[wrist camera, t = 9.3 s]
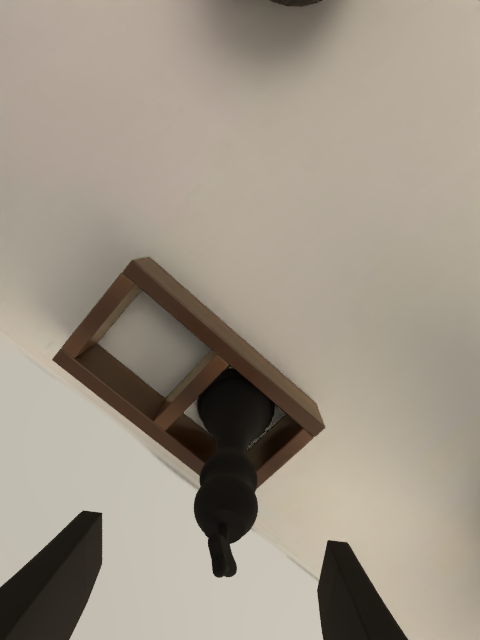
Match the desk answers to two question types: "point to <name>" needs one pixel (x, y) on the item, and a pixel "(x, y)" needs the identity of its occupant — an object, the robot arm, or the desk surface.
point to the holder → (167, 414)
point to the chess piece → (229, 464)
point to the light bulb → (296, 2)
